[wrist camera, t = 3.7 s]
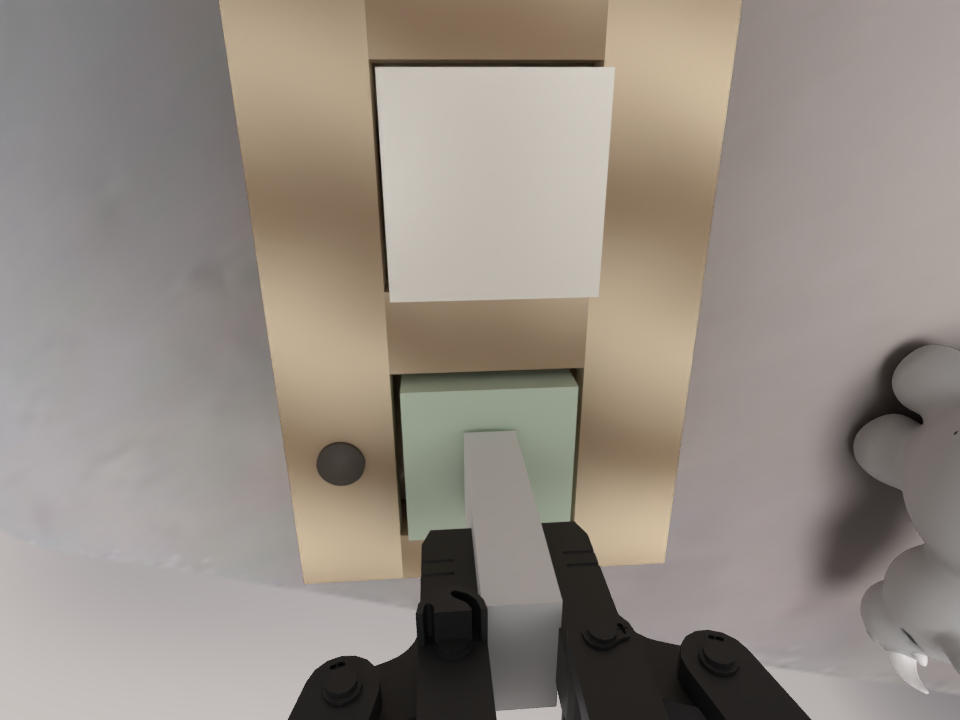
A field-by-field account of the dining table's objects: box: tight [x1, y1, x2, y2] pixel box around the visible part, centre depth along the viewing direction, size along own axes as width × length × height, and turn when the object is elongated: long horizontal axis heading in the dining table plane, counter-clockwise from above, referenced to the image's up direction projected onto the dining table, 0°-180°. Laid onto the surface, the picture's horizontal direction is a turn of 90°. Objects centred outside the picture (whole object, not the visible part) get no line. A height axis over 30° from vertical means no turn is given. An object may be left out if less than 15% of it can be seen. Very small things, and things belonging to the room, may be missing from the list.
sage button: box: [400, 368, 579, 541], centre depth 19 cm, size 5×5×3 cm
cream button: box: [375, 67, 615, 303], centre depth 15 cm, size 5×5×3 cm
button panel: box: [219, 0, 742, 584], centre depth 17 cm, size 25×12×4 cm, turn 0°
